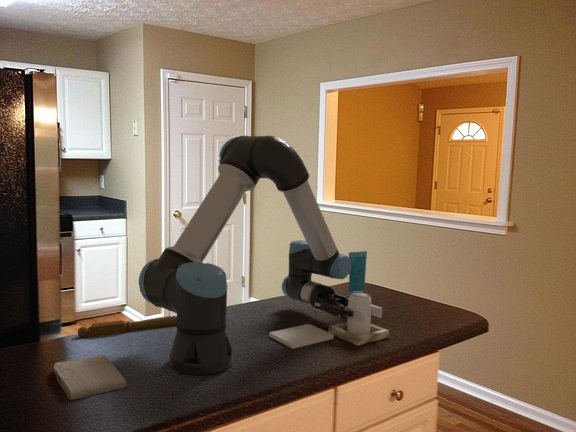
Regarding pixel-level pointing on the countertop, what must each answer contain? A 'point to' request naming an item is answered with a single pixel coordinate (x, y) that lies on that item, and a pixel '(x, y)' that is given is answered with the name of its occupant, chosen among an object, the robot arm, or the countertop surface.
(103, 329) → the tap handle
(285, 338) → the trivet
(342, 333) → the holder
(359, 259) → the tube
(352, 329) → the can
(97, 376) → the washcloth
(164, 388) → the countertop surface
